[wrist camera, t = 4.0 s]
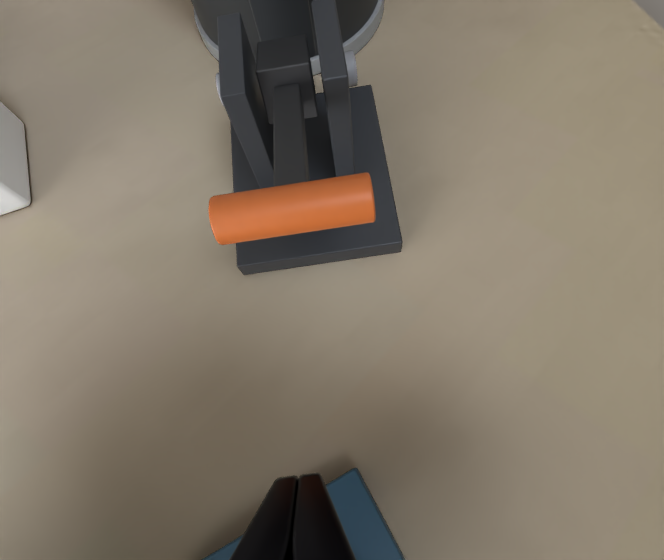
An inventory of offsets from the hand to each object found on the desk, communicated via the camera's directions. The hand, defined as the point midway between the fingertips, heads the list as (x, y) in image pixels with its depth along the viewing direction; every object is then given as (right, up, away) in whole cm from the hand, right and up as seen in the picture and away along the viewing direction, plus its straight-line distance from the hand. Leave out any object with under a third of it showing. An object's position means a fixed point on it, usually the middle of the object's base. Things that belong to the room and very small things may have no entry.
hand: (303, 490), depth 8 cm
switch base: (-1, +10, +18) cm, 21 cm away
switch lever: (-1, +9, +9) cm, 13 cm away
